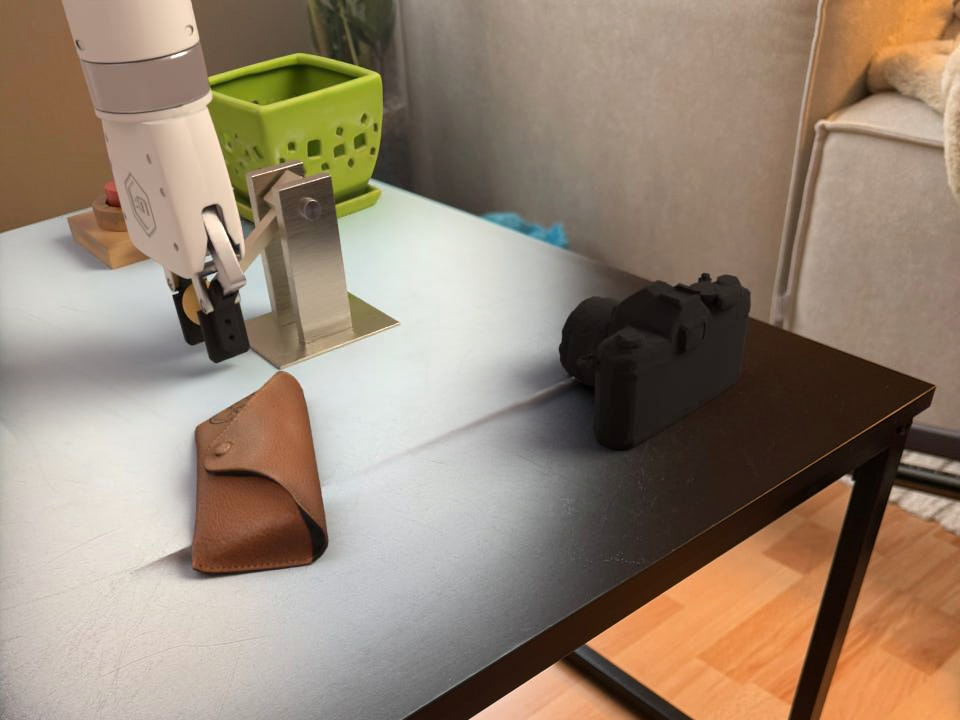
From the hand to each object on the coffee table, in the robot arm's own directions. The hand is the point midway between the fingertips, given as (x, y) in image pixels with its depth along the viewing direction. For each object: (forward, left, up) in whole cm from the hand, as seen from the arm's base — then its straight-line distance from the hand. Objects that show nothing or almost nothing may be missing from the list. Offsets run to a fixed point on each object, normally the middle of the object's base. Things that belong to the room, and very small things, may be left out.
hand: (217, 345), depth 77 cm
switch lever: (+5, 0, +5) cm, 7 cm away
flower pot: (+21, +24, -3) cm, 32 cm away
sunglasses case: (-6, -16, -3) cm, 17 cm away
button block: (+6, +30, -2) cm, 31 cm away
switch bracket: (+8, 0, -2) cm, 9 cm away
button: (+6, +30, +1) cm, 31 cm away
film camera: (+21, -24, -3) cm, 32 cm away
